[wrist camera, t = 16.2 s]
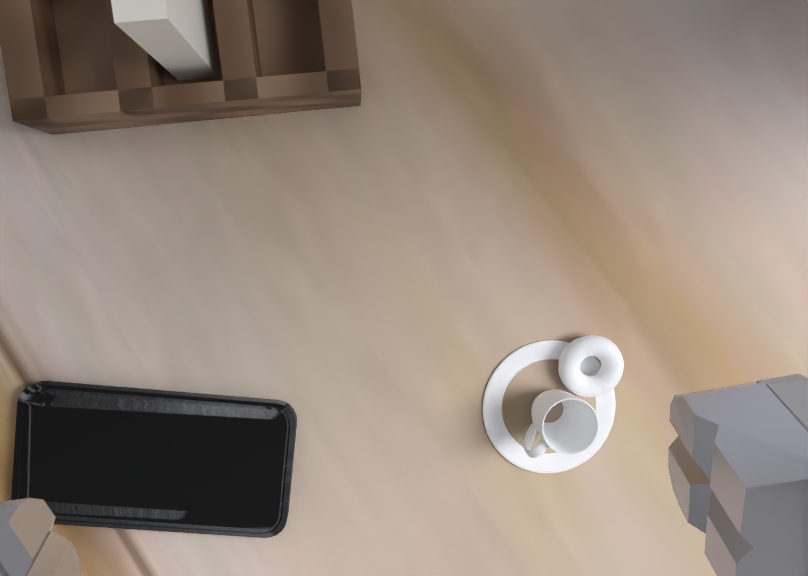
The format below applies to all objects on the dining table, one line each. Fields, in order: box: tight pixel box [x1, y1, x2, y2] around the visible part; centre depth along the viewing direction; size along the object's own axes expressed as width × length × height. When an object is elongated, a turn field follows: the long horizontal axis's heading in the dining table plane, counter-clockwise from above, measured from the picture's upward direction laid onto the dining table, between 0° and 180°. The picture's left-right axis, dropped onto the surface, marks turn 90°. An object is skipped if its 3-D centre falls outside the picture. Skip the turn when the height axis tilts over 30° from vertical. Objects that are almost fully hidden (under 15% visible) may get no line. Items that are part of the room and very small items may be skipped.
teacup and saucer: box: [483, 335, 624, 473], centre depth 36 cm, size 9×8×4 cm
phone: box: [11, 381, 297, 538], centre depth 36 cm, size 8×1×15 cm
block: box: [111, 0, 218, 80], centre depth 29 cm, size 2×4×9 cm, turn 6°
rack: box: [0, 0, 361, 134], centre depth 33 cm, size 17×8×4 cm, turn 96°
